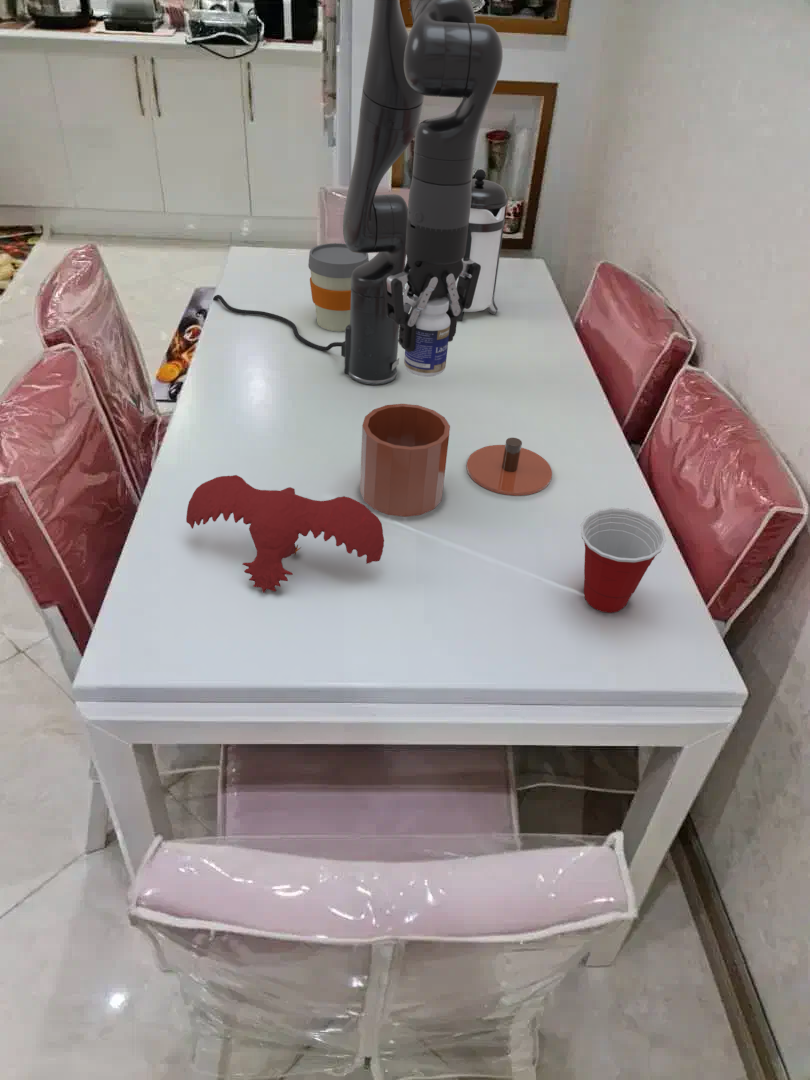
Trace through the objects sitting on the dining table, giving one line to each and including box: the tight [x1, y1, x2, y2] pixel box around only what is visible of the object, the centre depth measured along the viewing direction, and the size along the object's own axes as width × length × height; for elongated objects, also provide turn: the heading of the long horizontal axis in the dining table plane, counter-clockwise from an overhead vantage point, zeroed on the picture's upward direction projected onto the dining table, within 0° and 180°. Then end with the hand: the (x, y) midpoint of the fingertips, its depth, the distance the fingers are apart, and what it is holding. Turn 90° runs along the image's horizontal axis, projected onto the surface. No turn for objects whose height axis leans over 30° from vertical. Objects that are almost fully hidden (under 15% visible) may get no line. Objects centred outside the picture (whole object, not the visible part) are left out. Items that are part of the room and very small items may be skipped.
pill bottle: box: [403, 294, 450, 377], centre depth 108 cm, size 6×6×10 cm
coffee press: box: [455, 168, 509, 322], centre depth 176 cm, size 17×16×30 cm
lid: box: [466, 437, 553, 497], centre depth 132 cm, size 14×14×6 cm
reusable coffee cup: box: [307, 242, 370, 333], centre depth 170 cm, size 13×13×15 cm
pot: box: [359, 403, 451, 518], centre depth 123 cm, size 13×13×12 cm
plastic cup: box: [579, 507, 667, 614], centre depth 107 cm, size 11×11×12 cm
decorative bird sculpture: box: [185, 474, 385, 594], centre depth 110 cm, size 28×9×15 cm
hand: (426, 343), depth 109 cm, fingers closed on pill bottle, 5 cm apart
